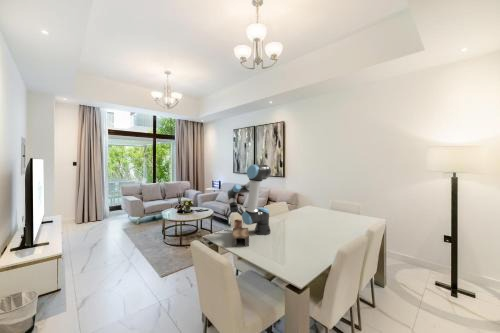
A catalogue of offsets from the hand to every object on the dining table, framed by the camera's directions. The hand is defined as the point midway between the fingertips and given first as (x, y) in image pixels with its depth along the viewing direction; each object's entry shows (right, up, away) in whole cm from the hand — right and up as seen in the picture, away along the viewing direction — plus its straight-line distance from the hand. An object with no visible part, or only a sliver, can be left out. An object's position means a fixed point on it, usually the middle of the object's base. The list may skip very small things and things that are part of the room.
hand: (236, 223), depth 203 cm
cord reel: (+1, -9, -2) cm, 9 cm away
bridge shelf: (+4, -10, -20) cm, 23 cm away
